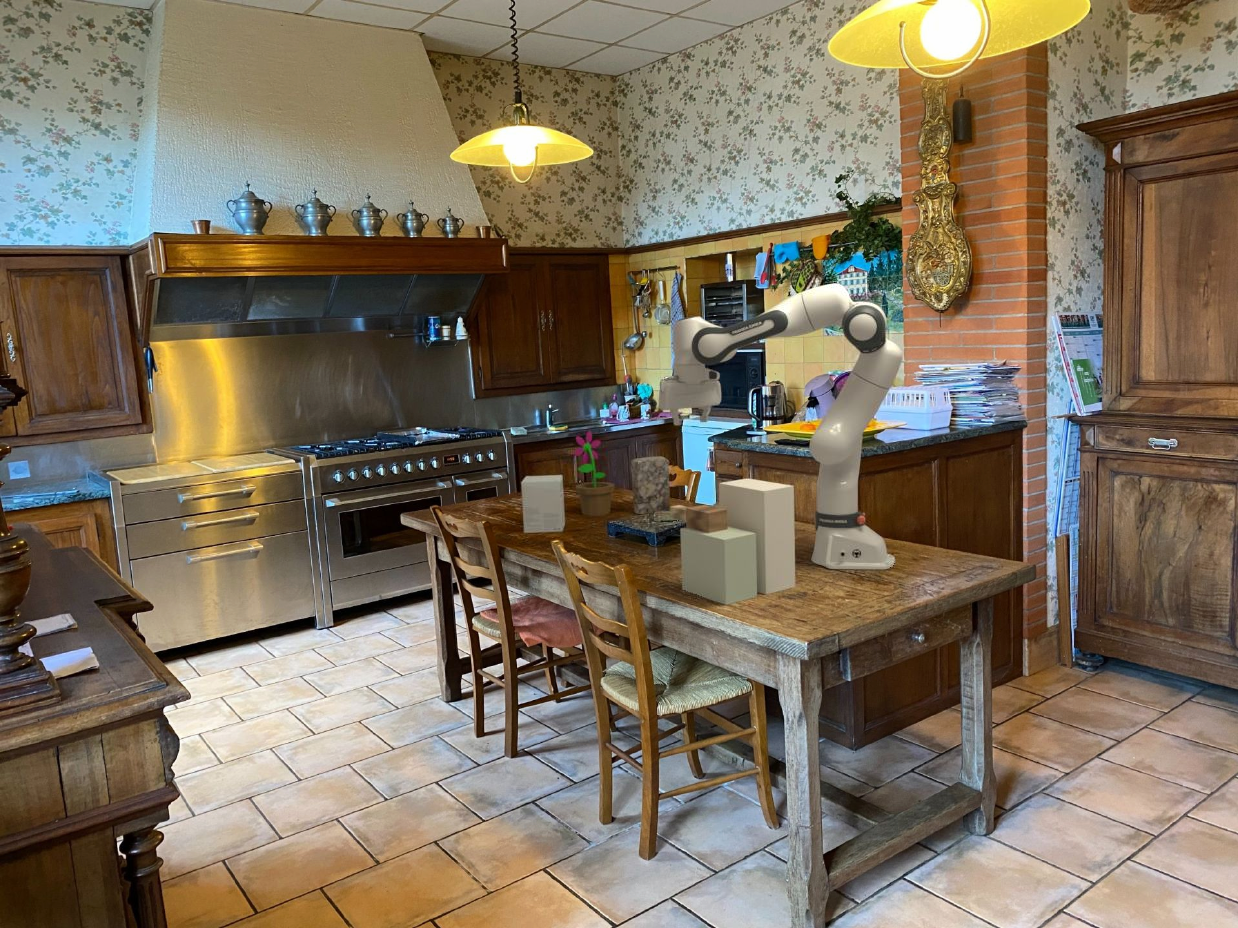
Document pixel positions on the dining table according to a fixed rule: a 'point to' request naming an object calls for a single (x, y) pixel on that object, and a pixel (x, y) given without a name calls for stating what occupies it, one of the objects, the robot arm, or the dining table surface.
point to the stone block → (650, 484)
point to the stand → (743, 544)
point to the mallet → (701, 517)
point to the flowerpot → (596, 493)
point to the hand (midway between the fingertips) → (690, 423)
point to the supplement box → (543, 503)
